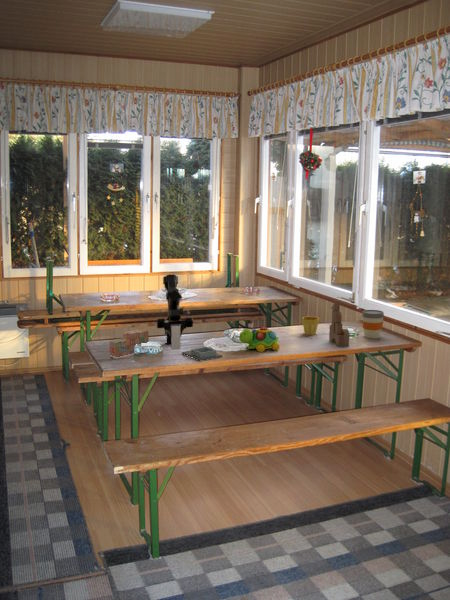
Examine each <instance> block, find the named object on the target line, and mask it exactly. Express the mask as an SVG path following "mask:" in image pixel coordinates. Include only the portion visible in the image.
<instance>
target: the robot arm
mask: <svg viewBox="0 0 450 600" xmlns="http://www.w3.org/2000/svg"><path fill="white" fill-rule="evenodd" d="M162 284H163V285H164V289H165V290H166V294H165V299H166V301H167V315H168V316H167V318H166V319H165V317H163V318H157V319H156V328H157V329H163V330H164V335H166V342H167V344H166V345H169V344H171V337H172V334H171V324H180V338H181V337H182V335H183V332H184V330H185V329H187V328H193V326H194V318H193V317H185V318H184V319H185V320H184V319H182V320H181V316H182V315H184V308H183V307H181V308H180V301H182V298H183V296H182V294H181V293H180V291H179V288H177V286H178V284H179V277H178V276H177V275H176V274H167V275H165V276H163V277H162Z"/></svg>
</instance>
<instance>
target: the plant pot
mask: <svg viewBox="0 0 450 600" xmlns="http://www.w3.org/2000/svg"><path fill="white" fill-rule="evenodd" d="M301 324H302V326H303V332H304V335H306V336H307V335H308V336H314V335H316V333H317V331H318V330H317V329H318V326H319V324H320V318H319V317H317V316H311V315H309V316H303V317H302V318H301Z"/></svg>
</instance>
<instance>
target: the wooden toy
mask: <svg viewBox="0 0 450 600" xmlns="http://www.w3.org/2000/svg"><path fill="white" fill-rule="evenodd" d="M340 304H341V301H340V300H334V303H333V305H332V306H331V310H332V312H331V313H332V314H331V316H332V317H331V324H330V325H329V333H328V335H329V336H328V341H329V342H330V343H335V345H336V346H337V347H339V348H340V347H350V331H349V329H348V328H347V327H344V328H343V322H342V319H343V318H342V315H343V314H342V312H341V310H340V306H341V305H340Z"/></svg>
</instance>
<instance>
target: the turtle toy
mask: <svg viewBox="0 0 450 600" xmlns="http://www.w3.org/2000/svg"><path fill="white" fill-rule="evenodd" d="M238 339H239V341H240V342H241V343H243V344H247V349H250V350H251V349H252V350H256V351H258V352H259V353H264V352H265V350H269V349H271V350H273V351H278V350H279V349H280V347H281V346H280V344H279V343H278V342H279V337H278V336H277V333H276V332H275V331H273V330H270V328H268V327H259V328H258V329H256V328H254V329H252V330H251V329H249V328H247V329H244V330H243V331H241V332H240V333H239V338H238ZM248 344H249V345H248Z"/></svg>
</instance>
